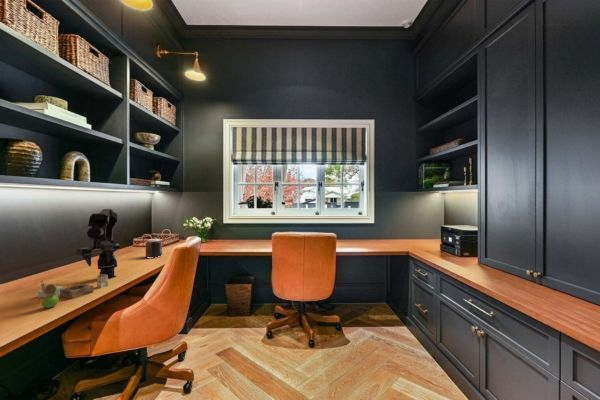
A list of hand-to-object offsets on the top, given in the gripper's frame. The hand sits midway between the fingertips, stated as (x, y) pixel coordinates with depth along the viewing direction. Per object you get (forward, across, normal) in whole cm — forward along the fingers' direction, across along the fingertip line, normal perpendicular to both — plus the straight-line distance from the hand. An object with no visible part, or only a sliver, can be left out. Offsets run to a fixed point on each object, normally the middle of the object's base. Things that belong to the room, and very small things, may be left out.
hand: (99, 264), depth 136 cm
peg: (+13, +1, -1) cm, 13 cm away
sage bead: (+13, -16, +10) cm, 23 cm away
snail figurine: (+13, -25, -8) cm, 29 cm away
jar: (+13, +63, +38) cm, 75 cm away
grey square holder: (+13, -11, -1) cm, 17 cm away
